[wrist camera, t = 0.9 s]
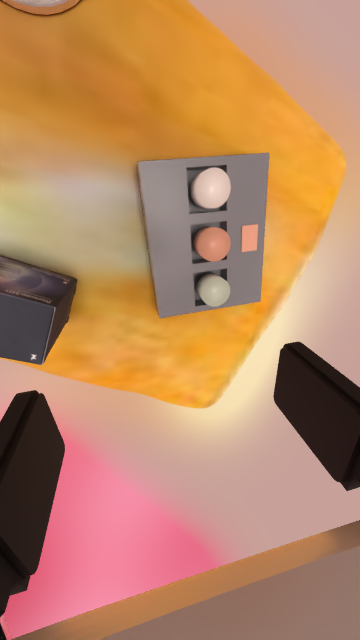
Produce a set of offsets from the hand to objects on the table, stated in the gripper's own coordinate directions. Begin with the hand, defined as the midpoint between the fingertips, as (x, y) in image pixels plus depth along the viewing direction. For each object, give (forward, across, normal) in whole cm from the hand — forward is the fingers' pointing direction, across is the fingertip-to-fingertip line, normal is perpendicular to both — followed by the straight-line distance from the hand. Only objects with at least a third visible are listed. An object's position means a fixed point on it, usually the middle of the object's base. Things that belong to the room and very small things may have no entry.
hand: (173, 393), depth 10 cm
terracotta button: (+21, -8, -2) cm, 23 cm away
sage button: (+21, -9, +3) cm, 23 cm away
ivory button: (+21, -8, -8) cm, 24 cm away
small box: (+24, +14, +1) cm, 28 cm away
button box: (+24, -8, -2) cm, 25 cm away
